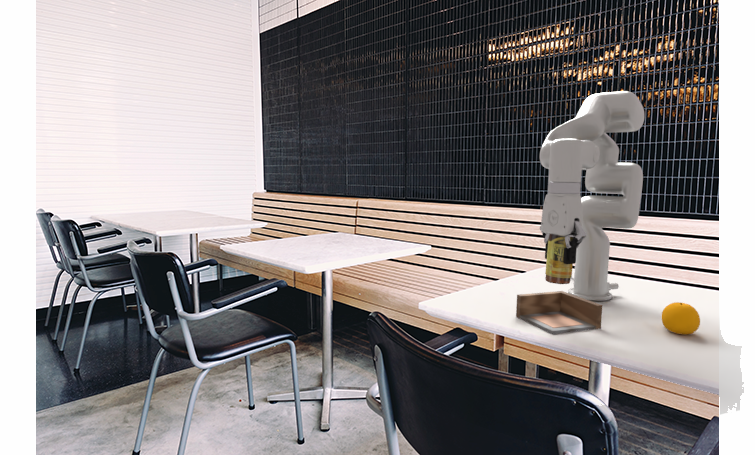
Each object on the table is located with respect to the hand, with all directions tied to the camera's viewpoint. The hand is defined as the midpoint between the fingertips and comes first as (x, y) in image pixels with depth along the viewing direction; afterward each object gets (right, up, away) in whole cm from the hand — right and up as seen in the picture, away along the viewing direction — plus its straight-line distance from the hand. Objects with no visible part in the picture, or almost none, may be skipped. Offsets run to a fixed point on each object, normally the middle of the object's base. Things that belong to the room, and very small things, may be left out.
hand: (559, 260), depth 119 cm
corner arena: (+1, -16, +3) cm, 17 cm away
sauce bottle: (0, -6, +1) cm, 6 cm away
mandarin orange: (+28, -18, -3) cm, 33 cm away
